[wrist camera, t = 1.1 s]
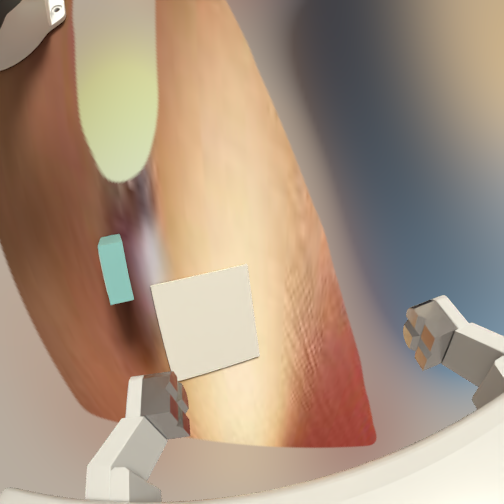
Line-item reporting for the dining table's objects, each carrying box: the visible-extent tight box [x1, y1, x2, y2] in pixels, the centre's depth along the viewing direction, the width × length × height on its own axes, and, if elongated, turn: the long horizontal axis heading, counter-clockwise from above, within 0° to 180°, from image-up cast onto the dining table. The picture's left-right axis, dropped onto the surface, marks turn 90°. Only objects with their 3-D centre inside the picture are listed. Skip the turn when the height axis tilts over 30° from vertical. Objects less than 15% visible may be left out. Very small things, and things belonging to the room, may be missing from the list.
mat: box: [150, 264, 260, 381], centre depth 45 cm, size 15×14×1 cm
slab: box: [98, 234, 134, 305], centre depth 34 cm, size 6×3×10 cm, turn 8°
